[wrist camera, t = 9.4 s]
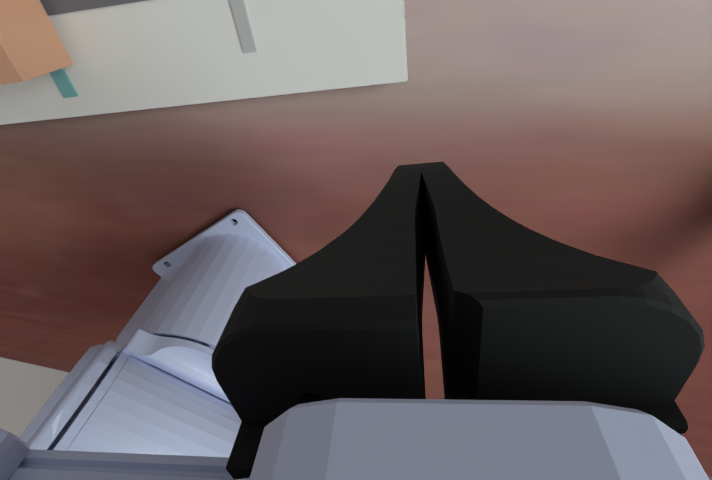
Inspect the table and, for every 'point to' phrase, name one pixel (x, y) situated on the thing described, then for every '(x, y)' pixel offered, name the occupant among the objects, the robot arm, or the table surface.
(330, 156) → the table surface
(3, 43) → the block
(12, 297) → the table surface
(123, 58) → the fader board
